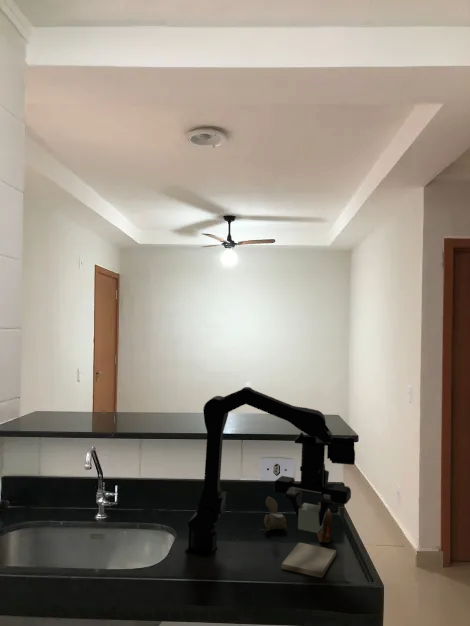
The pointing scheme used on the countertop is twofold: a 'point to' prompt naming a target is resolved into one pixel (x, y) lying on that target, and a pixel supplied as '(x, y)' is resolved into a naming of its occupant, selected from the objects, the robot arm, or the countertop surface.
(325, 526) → the tin
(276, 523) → the beige lumpy figure
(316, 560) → the maple board
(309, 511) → the sage cube
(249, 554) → the countertop surface
